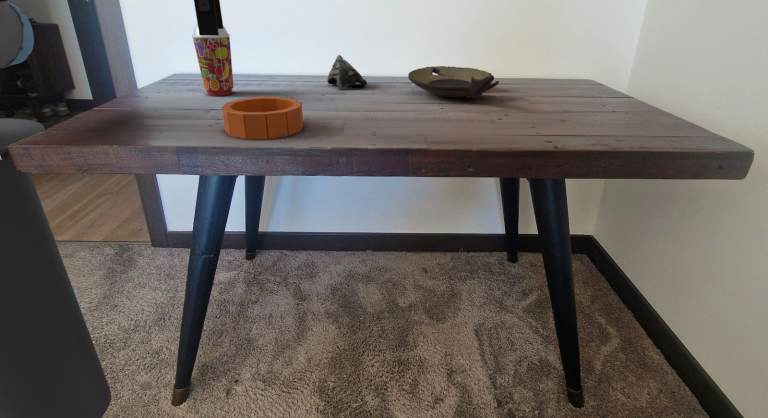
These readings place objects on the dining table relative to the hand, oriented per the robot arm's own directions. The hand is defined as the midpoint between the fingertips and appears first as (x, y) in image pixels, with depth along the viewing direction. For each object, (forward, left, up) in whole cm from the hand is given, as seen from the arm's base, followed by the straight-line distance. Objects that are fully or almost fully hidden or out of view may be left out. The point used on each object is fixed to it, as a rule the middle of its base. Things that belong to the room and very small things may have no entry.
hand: (212, 32), depth 72 cm
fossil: (+21, +44, -17) cm, 52 cm away
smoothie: (-11, +34, -17) cm, 40 cm away
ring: (+6, +3, -17) cm, 18 cm away
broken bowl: (+47, +31, -17) cm, 59 cm away
